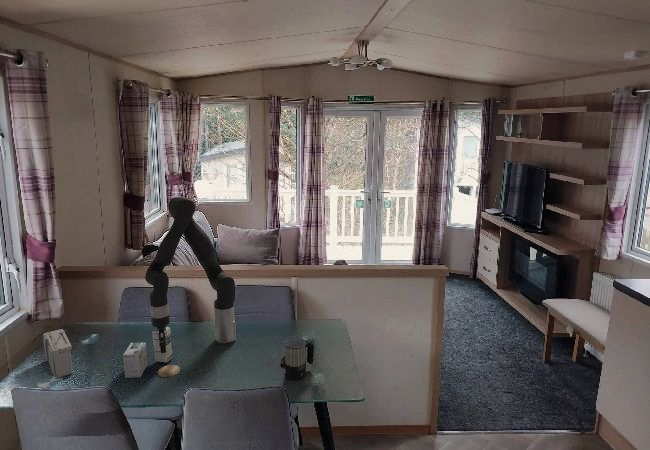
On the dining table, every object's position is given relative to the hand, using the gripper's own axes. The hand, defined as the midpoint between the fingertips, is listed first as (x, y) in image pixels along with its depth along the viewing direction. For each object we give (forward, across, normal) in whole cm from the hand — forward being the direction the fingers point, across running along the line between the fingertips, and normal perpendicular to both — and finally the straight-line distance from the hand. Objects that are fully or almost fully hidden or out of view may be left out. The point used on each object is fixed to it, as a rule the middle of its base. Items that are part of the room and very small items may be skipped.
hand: (163, 348), depth 213 cm
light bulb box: (+6, -5, +11) cm, 14 cm away
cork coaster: (+6, -10, -2) cm, 12 cm away
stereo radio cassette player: (+6, +9, +42) cm, 44 cm away
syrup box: (+5, 0, 0) cm, 5 cm away
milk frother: (+7, -26, -52) cm, 58 cm away
